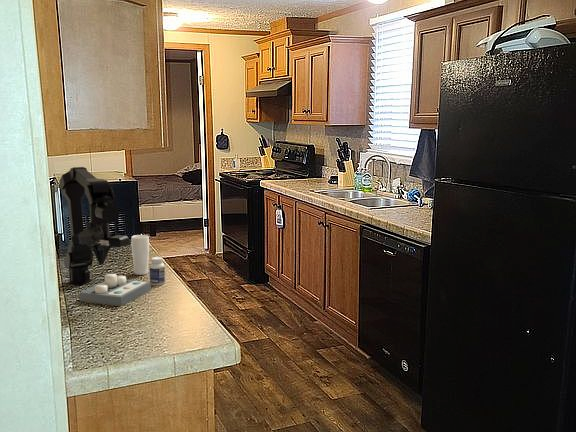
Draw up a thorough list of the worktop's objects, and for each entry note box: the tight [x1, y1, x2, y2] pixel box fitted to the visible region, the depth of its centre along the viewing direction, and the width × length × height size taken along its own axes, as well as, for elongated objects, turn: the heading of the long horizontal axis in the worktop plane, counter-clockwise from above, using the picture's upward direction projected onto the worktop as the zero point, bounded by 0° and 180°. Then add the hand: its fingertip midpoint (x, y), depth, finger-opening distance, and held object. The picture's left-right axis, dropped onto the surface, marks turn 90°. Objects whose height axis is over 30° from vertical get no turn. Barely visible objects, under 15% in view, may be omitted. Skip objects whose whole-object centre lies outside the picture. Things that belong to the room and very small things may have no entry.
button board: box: [79, 279, 152, 307], centre depth 186 cm, size 16×18×3 cm
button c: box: [117, 275, 127, 285], centre depth 191 cm, size 4×4×4 cm
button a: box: [94, 284, 108, 294], centre depth 181 cm, size 4×4×4 cm
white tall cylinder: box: [130, 234, 150, 276], centre depth 212 cm, size 7×7×15 cm
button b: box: [104, 273, 118, 288], centre depth 186 cm, size 4×4×4 cm
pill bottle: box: [149, 256, 166, 286], centre depth 200 cm, size 5×5×10 cm
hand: (101, 264), depth 181 cm, fingers closed
